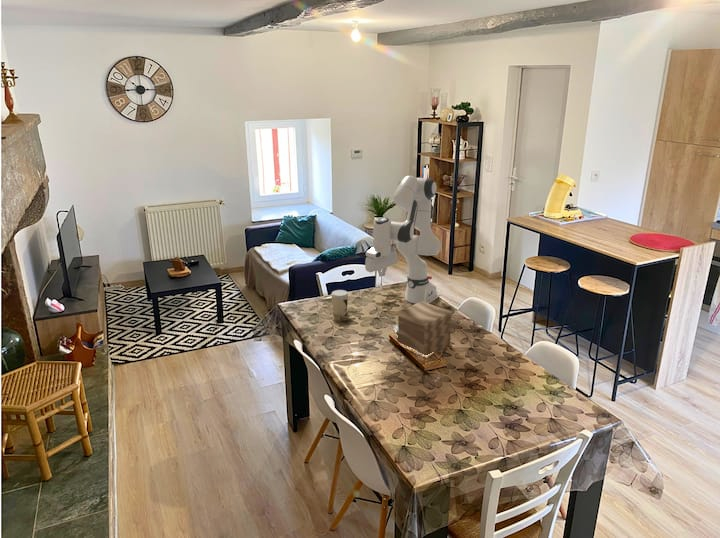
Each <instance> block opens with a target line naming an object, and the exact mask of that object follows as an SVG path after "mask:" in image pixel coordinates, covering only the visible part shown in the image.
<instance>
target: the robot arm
mask: <svg viewBox="0 0 720 538" xmlns="http://www.w3.org/2000/svg"><path fill="white" fill-rule="evenodd" d="M437 188H438V186H437V182H436V181H435V179H433V178H429V177H428V178H425V177H416V176H414V175H407V176H406V175H405V176H404V177H403V178H402V179H400V181H399V182H398V184H397V187H396V189H395V191H394V194H393V201H394V203H395V205H396V206H397V208H399V209H401V210H403V211H405V212H406V213H407V215H406V220H405V221H394V220H390V219H389V218H388V217H385V216H383V217H377V218H375V220H374V222H373V229H372V237H373V243H372V247H370V249H368V250H366V252H365V256H366V257H365V262H364V265H365V266H364V267H365V270H366V272H368V273H373V272H376V271H377V273H378V277H381V278H382V277H384V276H386V272H387V270H388V268H389V267H391V266H395V265H397V264H398V260H399V259H398V253H397V252H399V253H400V254H402V256H403V258H404V259H405V260H406V263H407V270H408V271H407V274H408V275H407V278H406V279H407V280H406V281H407V283H406V290H405V293H404V300H405V301H407V302H408V303H410V304H416V303H419V302H421V301H423V302H426V303H429V304H431V303H432V302H434V301H436V299H438V298H439V297H441V293H440V292H438V291H437V285H435V284H434V283H432V282H430V281H431V280H432V279H433V276H432V275H428V264H427V262H426V261H425V260H423V259H421V257H420V256H435V255H438V254H439V253H440V252H441V250H442V243H441V240H440V239H439V238H438V237H437V236H436V235H435V234H434V232H433V230H432V226H431V222H432V220H431V217H432V199H433V198H434V197H435V195H436V194H437ZM415 230H417V231H419V235H418V234H414V233H415ZM391 241H395V246H396V247H395V246H391V245H392V244H391Z"/></svg>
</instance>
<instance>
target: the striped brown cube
mask: <svg viewBox="0 0 720 538" xmlns="http://www.w3.org/2000/svg"><path fill="white" fill-rule="evenodd" d="M395 316H398V319H397V320H398V324H397V328H398V329H397V331H398V338H397V343H398V342H400V343H402V344H404V345H406V346H408V347H411V348H413V349H415V350H417V351H418V352H420V353H422V354H424V355H428V354H430V353H432V352H434V353H436V354H437V353H439V352H442V351H443V350H445V349H447V348H448V347H450V346H451V330H452V316H453V311H451V310H448V309H445V308H443V307H439V306H437V305H433V304H431V303H426V302H423V301H421V302H419V303H413V304H412V305H409V306H407V307H405V308H402V309H400V310H398V311H396V314H395Z"/></svg>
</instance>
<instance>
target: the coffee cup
mask: <svg viewBox="0 0 720 538" xmlns="http://www.w3.org/2000/svg"><path fill="white" fill-rule="evenodd" d="M330 295H331V303H332V312H333V313H332V314H334V315H336V316H344V315H346V314H348V300H349V299H348V297H349V293H348V291H347V290H344V289H336V290H333V291H332V292H331V294H330Z"/></svg>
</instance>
